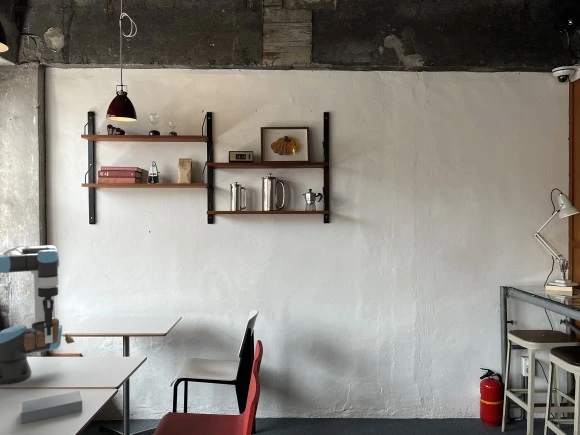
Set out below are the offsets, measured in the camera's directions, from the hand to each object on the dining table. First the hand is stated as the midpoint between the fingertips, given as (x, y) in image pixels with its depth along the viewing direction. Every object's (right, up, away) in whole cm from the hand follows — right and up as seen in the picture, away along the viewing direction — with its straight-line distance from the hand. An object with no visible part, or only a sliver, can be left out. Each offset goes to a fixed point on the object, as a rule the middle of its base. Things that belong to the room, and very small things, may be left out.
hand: (48, 340), depth 185 cm
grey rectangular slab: (+10, -23, -16) cm, 30 cm away
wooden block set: (+1, -2, -1) cm, 3 cm away
